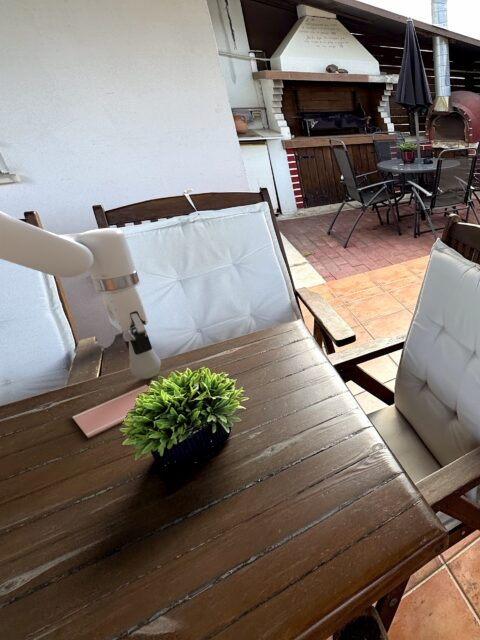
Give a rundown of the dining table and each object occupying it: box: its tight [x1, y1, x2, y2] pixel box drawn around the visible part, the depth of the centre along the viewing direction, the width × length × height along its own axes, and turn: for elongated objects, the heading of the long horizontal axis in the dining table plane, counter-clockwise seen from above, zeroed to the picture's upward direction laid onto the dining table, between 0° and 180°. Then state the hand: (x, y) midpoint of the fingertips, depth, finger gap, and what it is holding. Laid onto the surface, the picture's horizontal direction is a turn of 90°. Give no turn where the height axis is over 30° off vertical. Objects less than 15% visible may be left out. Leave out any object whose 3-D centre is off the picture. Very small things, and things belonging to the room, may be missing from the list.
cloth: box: [72, 384, 149, 439], centre depth 91 cm, size 13×11×1 cm
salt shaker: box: [122, 328, 162, 380], centre depth 100 cm, size 6×6×13 cm
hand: (139, 348), depth 99 cm, fingers closed on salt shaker, 4 cm apart
